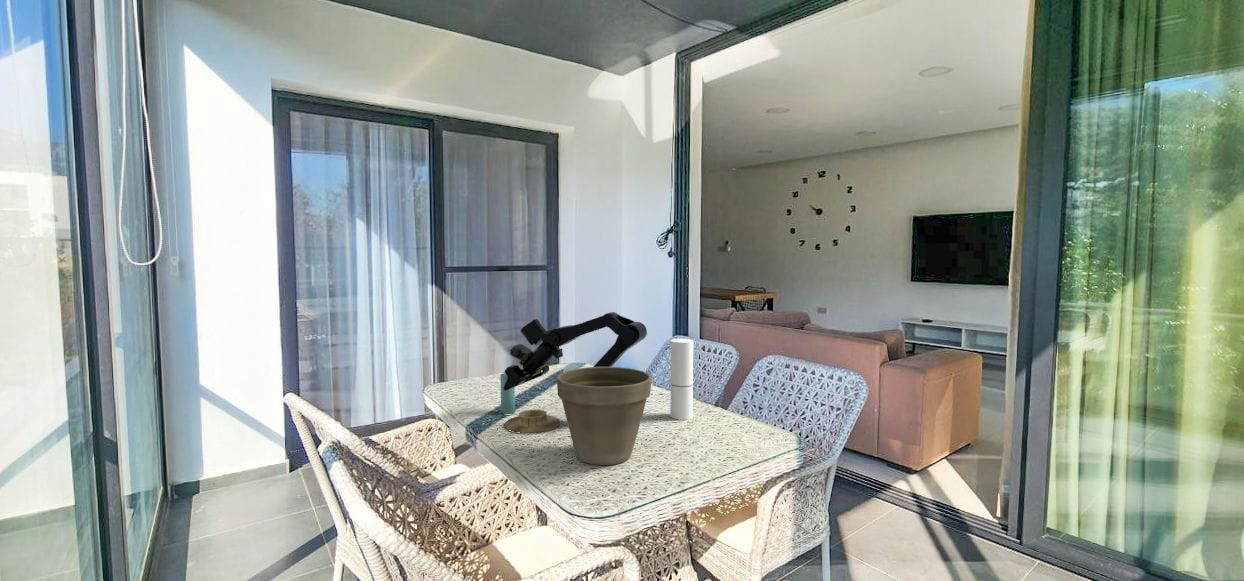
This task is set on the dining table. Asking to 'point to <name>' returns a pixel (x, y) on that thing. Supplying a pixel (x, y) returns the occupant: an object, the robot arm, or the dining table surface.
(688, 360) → the cylindrical container
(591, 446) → the plant pot
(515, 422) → the walnut stand
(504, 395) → the teal peg
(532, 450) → the dining table surface
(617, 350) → the robot arm
